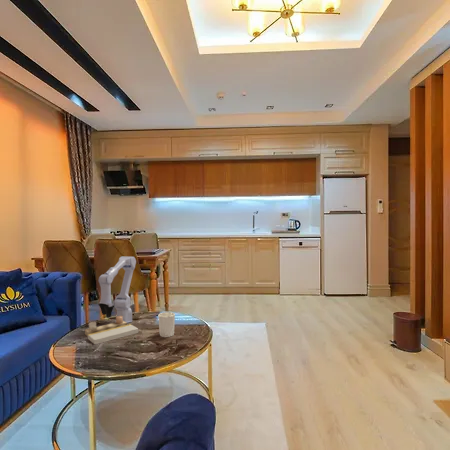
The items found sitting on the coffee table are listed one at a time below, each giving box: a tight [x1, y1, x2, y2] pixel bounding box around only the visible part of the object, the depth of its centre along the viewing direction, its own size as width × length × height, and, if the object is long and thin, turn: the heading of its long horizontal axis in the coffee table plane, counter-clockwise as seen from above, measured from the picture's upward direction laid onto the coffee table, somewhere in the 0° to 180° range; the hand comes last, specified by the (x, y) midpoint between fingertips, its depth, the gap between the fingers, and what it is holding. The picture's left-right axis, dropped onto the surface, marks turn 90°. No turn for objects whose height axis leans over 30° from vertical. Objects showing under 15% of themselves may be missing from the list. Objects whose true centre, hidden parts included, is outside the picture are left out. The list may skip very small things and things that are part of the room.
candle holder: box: [157, 311, 176, 338], centre depth 188 cm, size 10×10×12 cm
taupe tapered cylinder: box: [88, 321, 97, 330], centre depth 190 cm, size 4×4×4 cm
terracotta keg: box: [115, 315, 123, 324], centre depth 200 cm, size 4×4×4 cm
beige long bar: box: [84, 321, 128, 338], centre depth 195 cm, size 24×5×4 cm, turn 131°
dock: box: [87, 323, 139, 345], centre depth 187 cm, size 26×11×3 cm, turn 131°
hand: (106, 315), depth 195 cm, fingers open, 7 cm apart
